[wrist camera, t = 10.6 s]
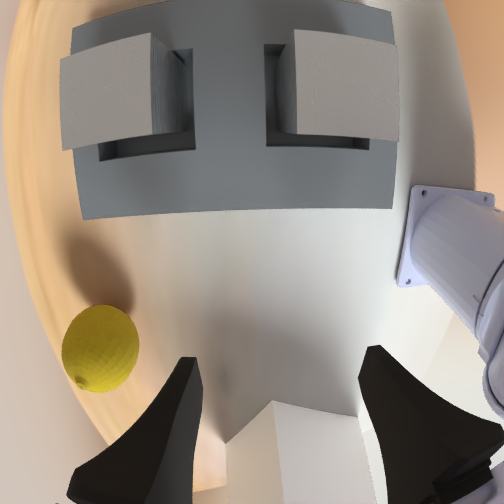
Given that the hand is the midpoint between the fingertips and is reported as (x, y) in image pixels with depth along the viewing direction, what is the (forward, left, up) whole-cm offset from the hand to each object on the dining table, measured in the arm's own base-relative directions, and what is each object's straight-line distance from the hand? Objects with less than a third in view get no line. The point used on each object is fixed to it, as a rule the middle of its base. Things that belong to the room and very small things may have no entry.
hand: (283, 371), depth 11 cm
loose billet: (+7, -11, -9) cm, 16 cm away
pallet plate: (+2, -11, -9) cm, 15 cm away
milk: (-3, +23, -10) cm, 25 cm away
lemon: (+12, +4, -10) cm, 16 cm away
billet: (-2, -11, -9) cm, 14 cm away
